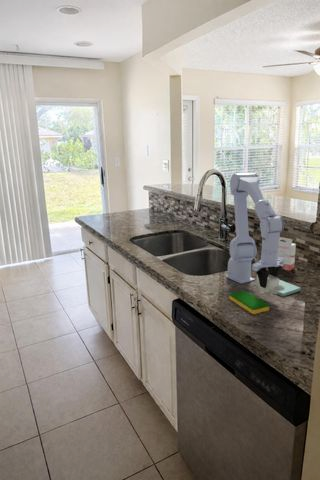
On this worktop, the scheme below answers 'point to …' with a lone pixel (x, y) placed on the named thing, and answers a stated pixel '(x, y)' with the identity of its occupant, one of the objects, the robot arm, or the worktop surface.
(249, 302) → the dish sponge
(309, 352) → the worktop surface
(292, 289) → the teal mat
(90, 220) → the worktop surface
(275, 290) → the white rounded piece
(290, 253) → the ink cartridge box
